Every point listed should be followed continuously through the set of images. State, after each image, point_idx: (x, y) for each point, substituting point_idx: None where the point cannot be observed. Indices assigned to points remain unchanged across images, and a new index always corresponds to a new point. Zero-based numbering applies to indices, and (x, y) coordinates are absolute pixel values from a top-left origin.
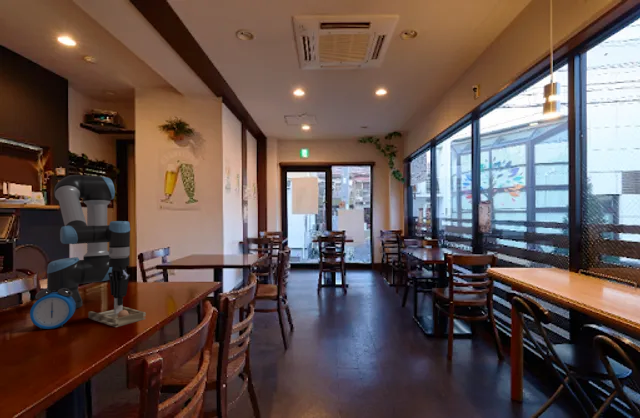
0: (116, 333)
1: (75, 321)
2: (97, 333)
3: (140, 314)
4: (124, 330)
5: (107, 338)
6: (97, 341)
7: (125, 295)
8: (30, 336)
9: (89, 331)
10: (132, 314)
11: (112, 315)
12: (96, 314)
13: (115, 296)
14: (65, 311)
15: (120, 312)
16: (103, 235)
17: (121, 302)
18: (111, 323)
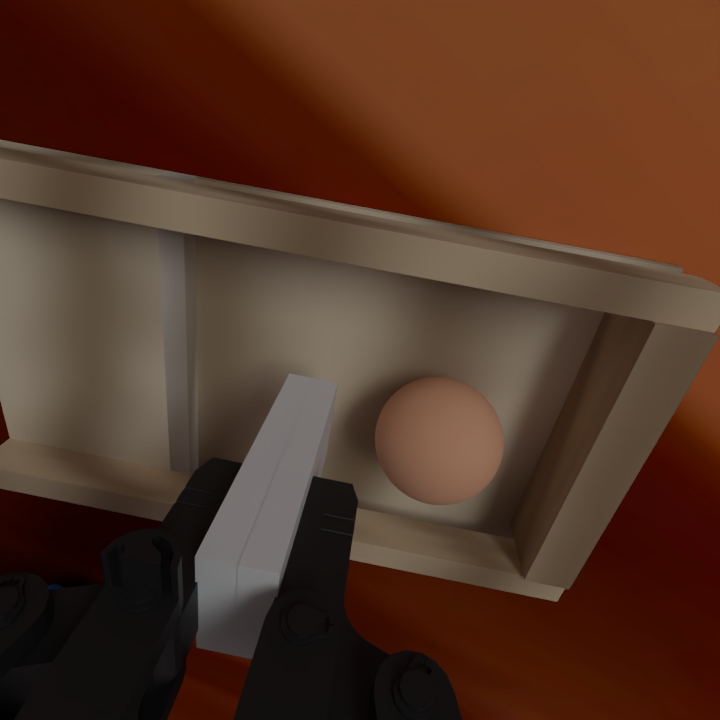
0: (669, 620)
1: (55, 516)
2: (512, 639)
3: (685, 370)
4: (689, 570)
5: (678, 681)
6: (648, 714)
7: (443, 689)
8: (178, 710)
9: (412, 625)
10: (606, 447)
11: (193, 361)
12: (156, 517)
13: (184, 655)
14: None
15: (442, 504)
16: None
17: (351, 538)
18: (425, 507)
